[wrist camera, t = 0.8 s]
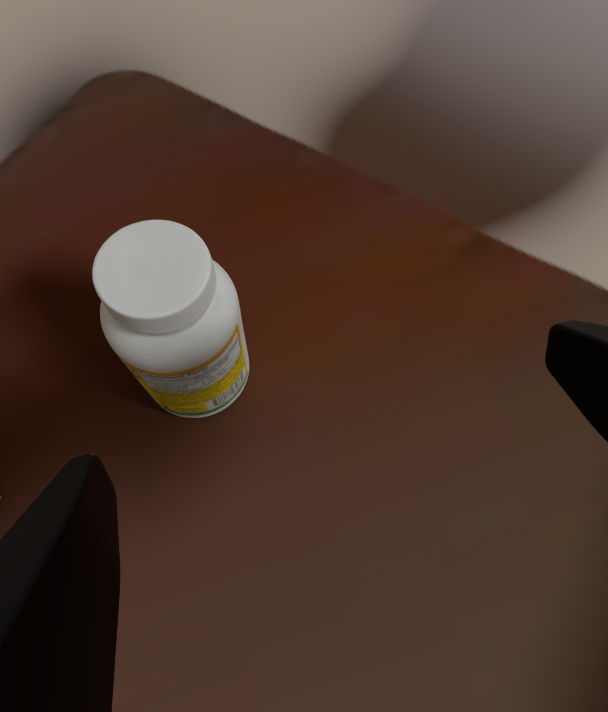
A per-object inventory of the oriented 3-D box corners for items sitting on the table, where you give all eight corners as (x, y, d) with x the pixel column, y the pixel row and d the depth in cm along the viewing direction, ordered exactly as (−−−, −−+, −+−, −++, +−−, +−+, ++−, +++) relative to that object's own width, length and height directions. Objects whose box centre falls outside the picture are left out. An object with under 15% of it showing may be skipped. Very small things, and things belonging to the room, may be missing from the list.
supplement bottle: (246, 421, 24) (224, 342, 15) (138, 419, 24) (53, 337, 15) (252, 325, 26) (237, 206, 17) (153, 321, 26) (86, 200, 17)
